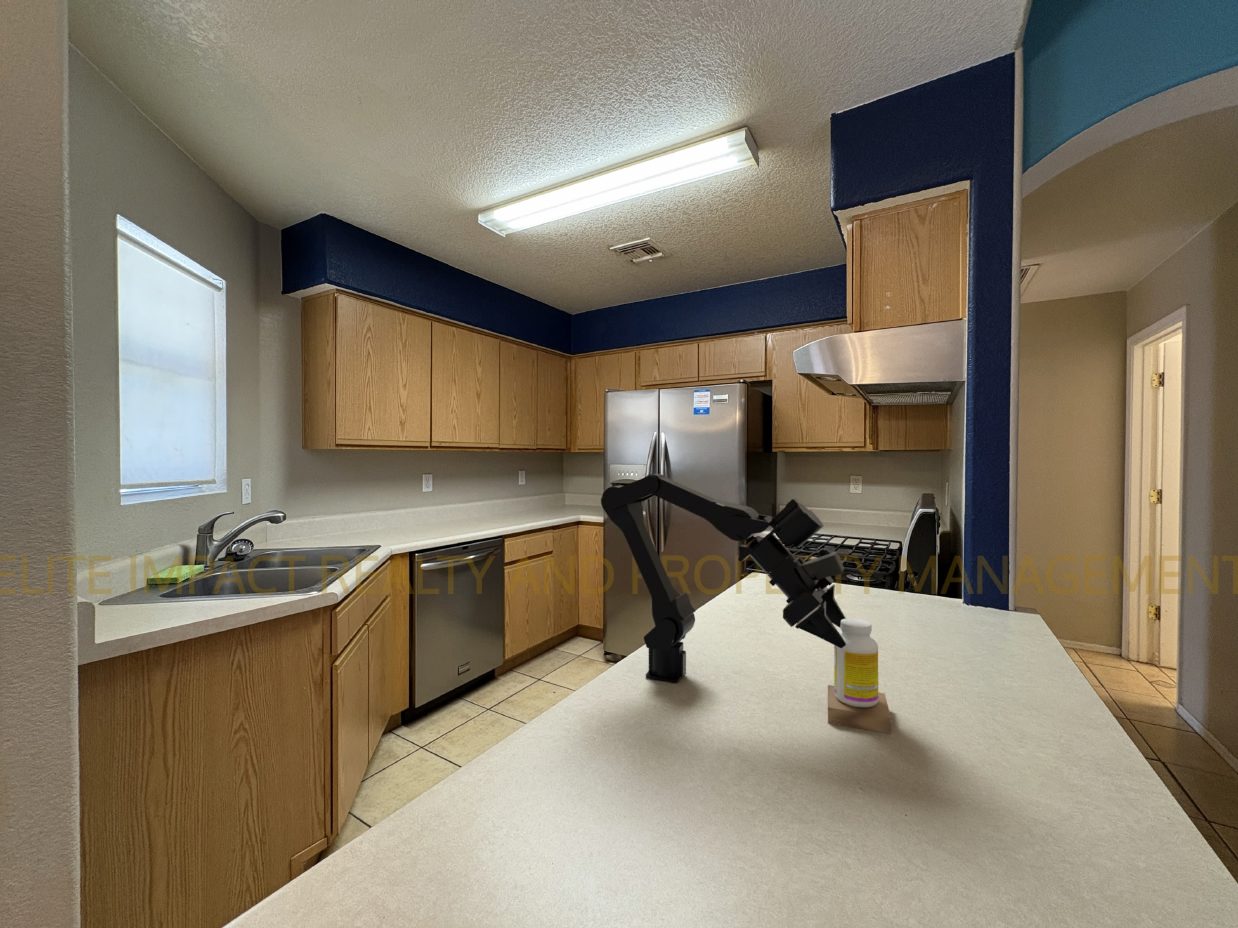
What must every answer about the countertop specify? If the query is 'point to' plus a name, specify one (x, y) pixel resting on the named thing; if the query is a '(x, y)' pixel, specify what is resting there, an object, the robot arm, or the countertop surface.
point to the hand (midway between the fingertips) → (846, 637)
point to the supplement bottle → (856, 665)
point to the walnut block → (859, 714)
